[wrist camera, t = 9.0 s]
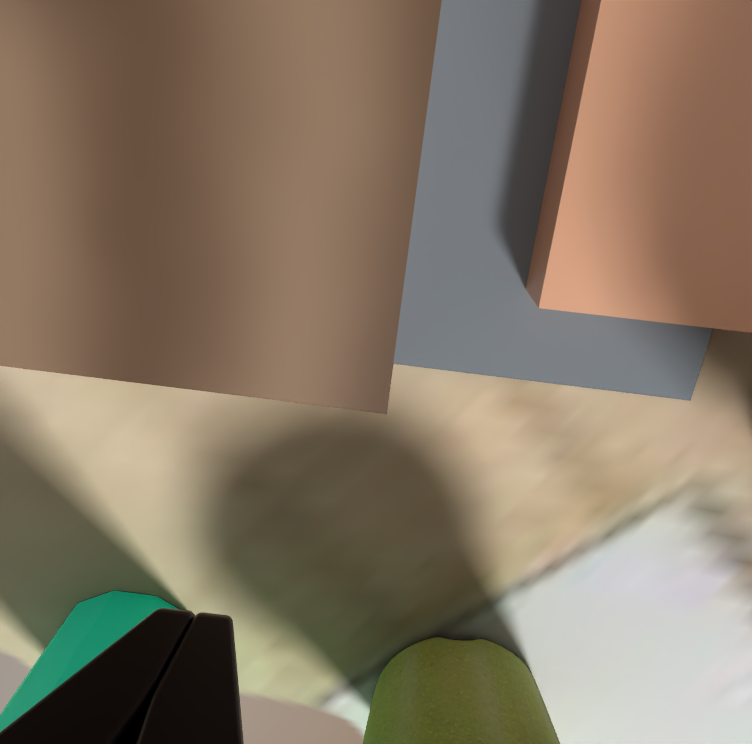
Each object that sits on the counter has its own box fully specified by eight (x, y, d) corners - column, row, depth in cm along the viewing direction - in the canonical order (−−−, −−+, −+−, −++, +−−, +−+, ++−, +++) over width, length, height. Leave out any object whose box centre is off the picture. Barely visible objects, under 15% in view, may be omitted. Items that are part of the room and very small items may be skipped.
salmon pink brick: (624, -114, 14) (597, -86, 15) (538, 308, 17) (525, 289, 19) (915, -81, 14) (854, -57, 15) (773, 335, 17) (736, 313, 19)
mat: (860, -169, 15) (872, -176, 15) (685, 395, 20) (690, 400, 20) (466, -218, 15) (467, -226, 15) (390, 358, 20) (390, 363, 20)
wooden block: (466, -218, 15) (485, -329, 11) (390, 358, 20) (386, 413, 16) (-59, -282, 15) (-214, -415, 11) (-2, 310, 20) (-96, 353, 16)
